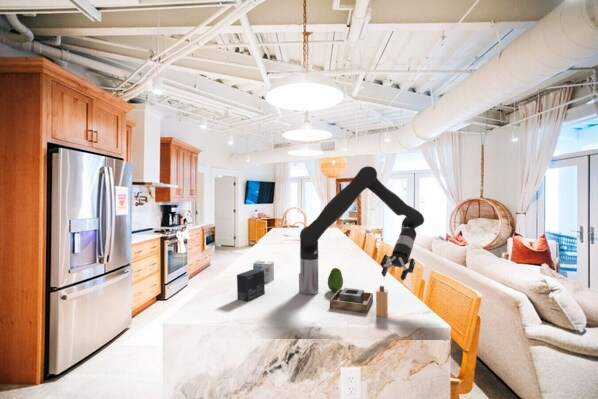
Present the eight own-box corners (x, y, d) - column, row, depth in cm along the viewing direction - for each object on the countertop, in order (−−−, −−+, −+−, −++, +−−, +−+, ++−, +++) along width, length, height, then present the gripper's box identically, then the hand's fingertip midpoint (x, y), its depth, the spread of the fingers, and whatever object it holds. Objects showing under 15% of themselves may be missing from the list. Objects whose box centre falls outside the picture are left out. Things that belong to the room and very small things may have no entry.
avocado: (342, 294, 146) (342, 270, 146) (327, 293, 147) (326, 269, 147) (343, 289, 154) (343, 266, 154) (328, 288, 155) (328, 265, 155)
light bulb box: (252, 281, 169) (252, 262, 169) (257, 278, 175) (257, 260, 175) (270, 282, 166) (269, 263, 166) (274, 279, 172) (274, 261, 172)
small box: (254, 291, 151) (254, 268, 151) (265, 293, 147) (264, 270, 147) (236, 299, 140) (236, 274, 139) (247, 302, 136) (247, 276, 136)
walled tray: (329, 307, 128) (329, 295, 128) (339, 296, 142) (339, 284, 142) (366, 313, 122) (366, 299, 121) (372, 300, 136) (372, 288, 136)
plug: (376, 315, 119) (376, 287, 119) (377, 312, 123) (377, 284, 123) (386, 317, 117) (386, 288, 117) (387, 313, 121) (387, 285, 121)
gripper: (386, 241, 138) (374, 269, 130) (416, 244, 129) (406, 275, 120) (391, 250, 142) (380, 279, 134) (421, 254, 133) (411, 285, 124)
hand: (392, 277), depth 127 cm, fingers open, 8 cm apart
